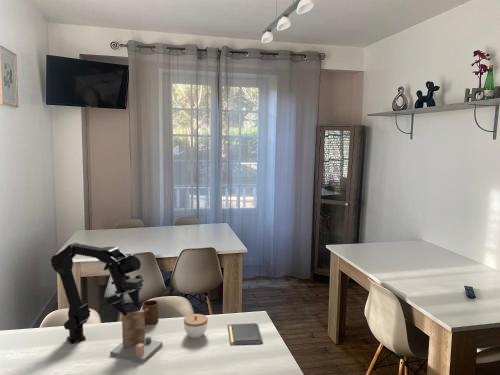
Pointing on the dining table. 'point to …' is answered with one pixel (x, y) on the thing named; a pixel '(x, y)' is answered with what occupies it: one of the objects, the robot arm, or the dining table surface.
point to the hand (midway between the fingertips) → (132, 311)
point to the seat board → (132, 351)
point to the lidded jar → (195, 325)
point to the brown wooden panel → (133, 328)
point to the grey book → (244, 334)
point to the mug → (150, 311)
